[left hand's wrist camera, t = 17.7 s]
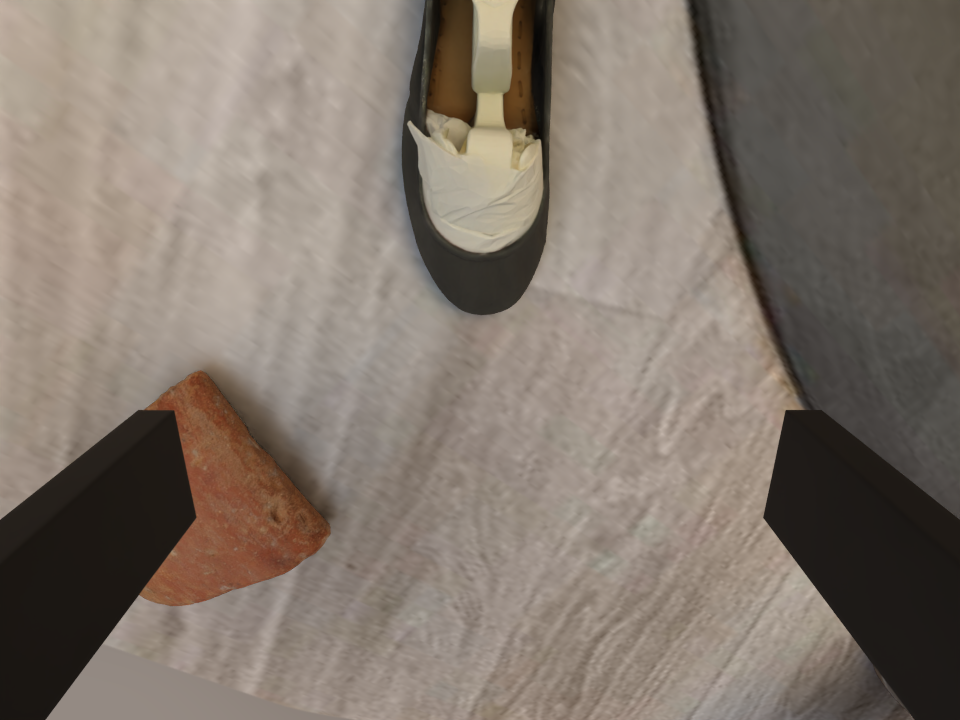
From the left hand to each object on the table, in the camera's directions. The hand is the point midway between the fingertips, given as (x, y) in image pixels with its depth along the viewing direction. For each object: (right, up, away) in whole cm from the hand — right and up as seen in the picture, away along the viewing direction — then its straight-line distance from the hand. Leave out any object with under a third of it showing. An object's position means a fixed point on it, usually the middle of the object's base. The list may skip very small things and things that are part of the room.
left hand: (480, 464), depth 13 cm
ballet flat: (0, +17, +20) cm, 26 cm away
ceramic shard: (-20, -7, +29) cm, 36 cm away
